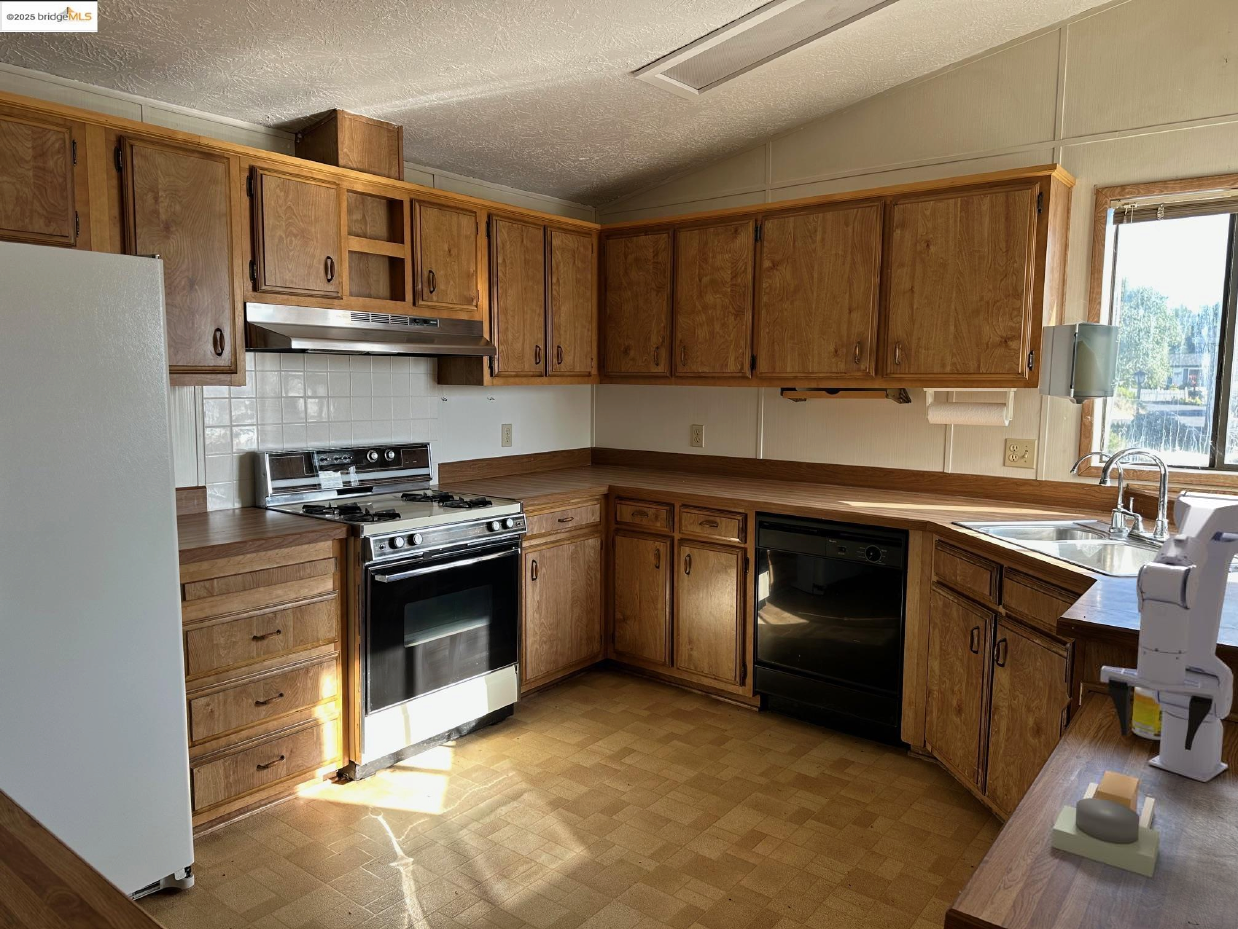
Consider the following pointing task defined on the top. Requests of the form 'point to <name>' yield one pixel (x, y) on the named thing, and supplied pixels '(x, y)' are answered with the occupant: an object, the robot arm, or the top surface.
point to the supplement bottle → (1146, 715)
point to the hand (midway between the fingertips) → (1155, 740)
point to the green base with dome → (1109, 833)
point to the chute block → (1119, 789)
